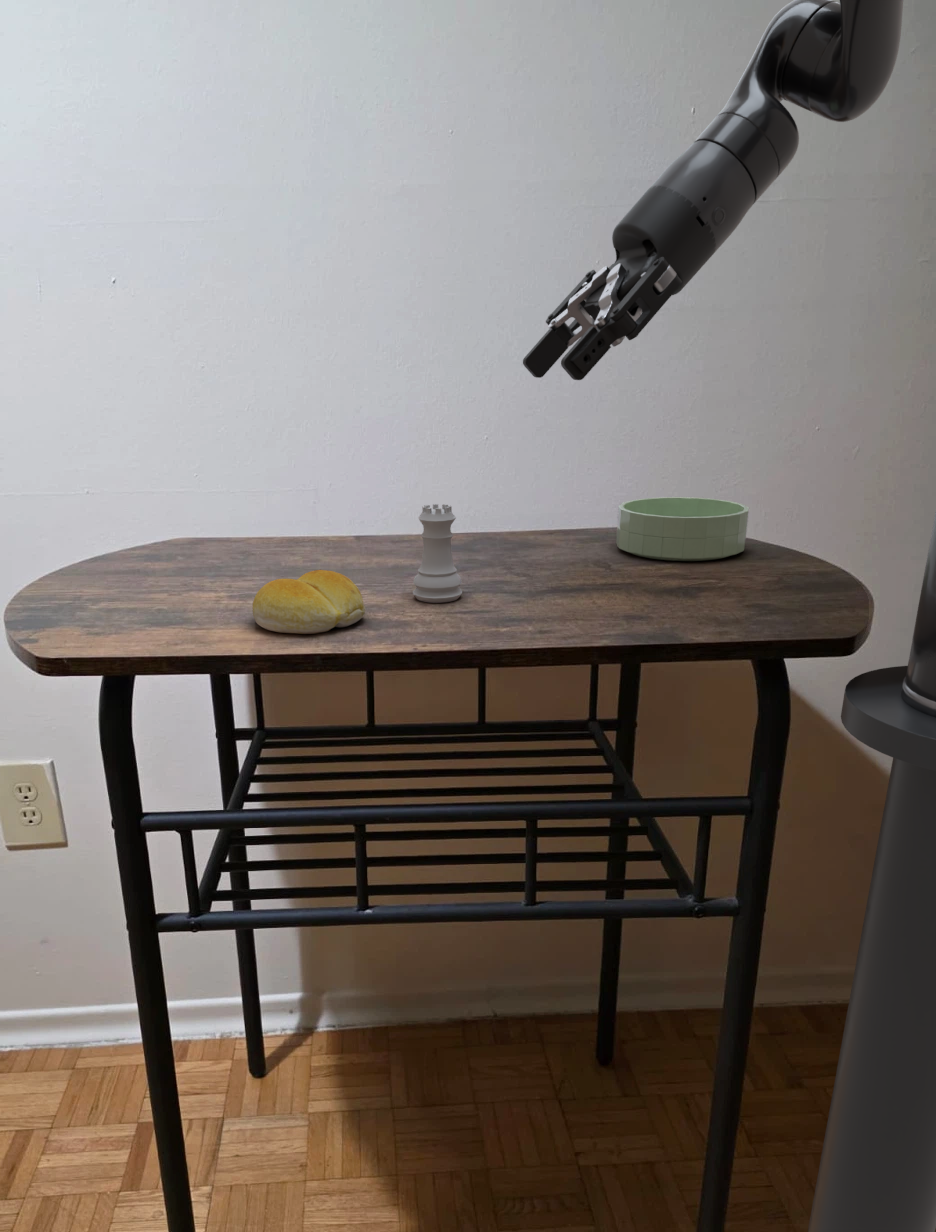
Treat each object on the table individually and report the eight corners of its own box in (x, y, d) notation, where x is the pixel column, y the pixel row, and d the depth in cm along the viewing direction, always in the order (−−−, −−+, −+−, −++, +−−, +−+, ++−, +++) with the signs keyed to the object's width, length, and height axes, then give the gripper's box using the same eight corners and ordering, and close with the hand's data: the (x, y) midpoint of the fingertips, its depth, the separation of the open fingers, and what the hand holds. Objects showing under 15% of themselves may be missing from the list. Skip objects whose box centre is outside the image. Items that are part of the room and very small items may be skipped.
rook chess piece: (409, 603, 84) (407, 510, 82) (415, 590, 89) (414, 502, 86) (460, 604, 84) (460, 510, 81) (464, 591, 88) (464, 502, 85)
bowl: (769, 557, 98) (775, 512, 96) (653, 567, 95) (656, 521, 94) (702, 534, 110) (705, 494, 108) (596, 542, 107) (598, 501, 105)
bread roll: (237, 621, 80) (233, 573, 79) (330, 603, 85) (328, 558, 84) (284, 643, 74) (280, 592, 73) (382, 623, 79) (380, 575, 77)
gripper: (616, 196, 85) (490, 340, 86) (702, 167, 72) (552, 337, 73) (667, 262, 88) (545, 400, 89) (758, 246, 75) (613, 407, 76)
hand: (548, 371), depth 81 cm, fingers open, 8 cm apart
